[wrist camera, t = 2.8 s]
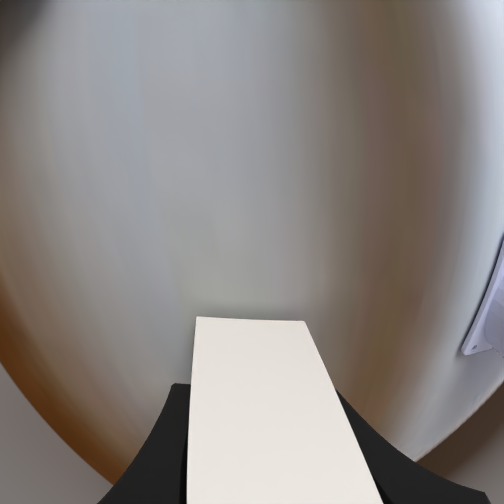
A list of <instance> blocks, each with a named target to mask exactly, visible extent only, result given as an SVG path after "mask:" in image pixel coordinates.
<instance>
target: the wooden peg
mask: <svg viewBox="0 0 504 504" xmlns="http://www.w3.org/2000/svg"><path fill="white" fill-rule="evenodd" d="M187 504H383V502H382V500H381V497H380V495H379V492H378V490H377V488H376V485H375V483H374V480H373V478H372V475H371V473H370V471H369V468H368V466H367V463H366V461H365V459H364V456H363V454H362V452H361V449H360V447H359V444H358V442H357V440H356V437H355V435H354V433H353V430H352V428H351V426H350V423H349V421H348V419H347V416H346V414H345V412H344V409H343V407H342V405H341V403H340V400H339V398H338V396H337V393H336V391H335V389H334V387H333V384H332V382H331V380H330V377H329V375H328V373H327V371H326V368H325V366H324V364H323V362H322V359H321V357H320V355H319V353H318V350H317V348H316V346H315V344H314V341H313V339H312V337H311V335H310V333H309V330H308V328H307V326H306V324H305V322H304V321H277V320H249V319H228V318H211V317H197V318H196V329H195V340H194V352H193V365H192V379H191V395H190V412H189V433H188V461H187Z"/></svg>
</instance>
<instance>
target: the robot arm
mask: <svg viewBox="0 0 504 504" xmlns="http://www.w3.org/2000/svg"><path fill="white" fill-rule="evenodd" d="M493 348H495V349H496V350H497V351H498V352H499V353H500V354H501V355H502V356H503V357H504V240H503V244H502V247H501V251H500V254H499V257H498V260H497V264H496V267H495V270H494V272H493V275H492V278H491V281H490V284H489V286H488V289H487V292H486V294H485V297H484V299H483V302H482V304H481V307H480V309H479V311H478V314H477V316H476V318H475V320H474V323H473V325H472V327H471V329H470V331H469V333H468V335H467V338H466V340H465V342H464V344H463V346H462V348H461V352H462V353H463V354H464V355H470V354H474V353H478V352H482V351H486V350H489V349H493ZM334 389H335V388H334ZM335 391H336V393H337V396H338V398H339V400H340V403H341V405H342V407H343V409H344V412H345V414H346V416H347V419H348V421H349V423H350V426H351V428H352V430H353V433H354V435H355V437H356V440H357V442H358V444H359V447H360V449H361V452H362V454H363V456H364V459H365V461H366V463H367V466H368V468H369V471H370V473H371V475H372V478H373V480H374V483H375V485H376V488H377V490H378V492H379V495H380V497H381V500H382V502H383V504H491V503H490V501H489V499H488V497H487V496H486V494H485V492H481V491H478V490H475V489H471V488H467V487H465V486H461V485H459V484H456V483H454V482H451V481H449V480H447V479H444V478H442V477H440V476H438V475H436V474H434V473H433V472H431V471H429V470H427V469H425V468H423V467H422V466H420V465H419V464H417V463H415V462H414V461H412V460H411V459H410V458H408V457H407V456H405V455H404V454H402V453H401V452H400V451H398V450H397V449H396V448H395V447H393V446H392V445H391V444H390V443H389V442H387V441H386V440H385V439H384V438H383V437H382V436H380V435H379V434H378V433H377V432H376V431H375V430H374V429H373V428H372V427H371V426H370V425H369V424H368V423H367V422H366V421H365V420H364V419H363V418H362V417H361V416H360V415H359V414H358V413H357V412H356V411H355V410H354V409H353V408H352V406H351V405H350V404H349V403H348V402H347V401H346V400H345V399H344V398H343V397H342V395H341V394H340V393H339V392H338V391H337V390H336V389H335ZM190 395H191V385H190V384H178V383H175V384H173V385H172V386H171V389H170V392H169V395H168V398H167V400H166V403H165V405H164V407H163V409H162V412H161V414H160V416H159V418H158V420H157V422H156V423H155V425H154V427H153V429H152V431H151V433H150V435H149V436H148V438H147V440H146V441H145V443H144V445H143V446H142V448H141V449H140V451H139V453H138V454H137V456H136V457H135V459H134V460H133V462H132V463H131V464H130V466H129V467H128V469H127V470H126V471H125V472H124V474H123V475H122V476H121V478H120V479H119V480H118V481H117V482H116V484H115V485H114V486H113V487H112V488H111V490H110V491H109V492H108V493H107V494H106V495H105V496H104V497H103V498H102V499H101V501H99V503H97V504H187V461H188V433H189V412H190Z"/></svg>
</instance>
